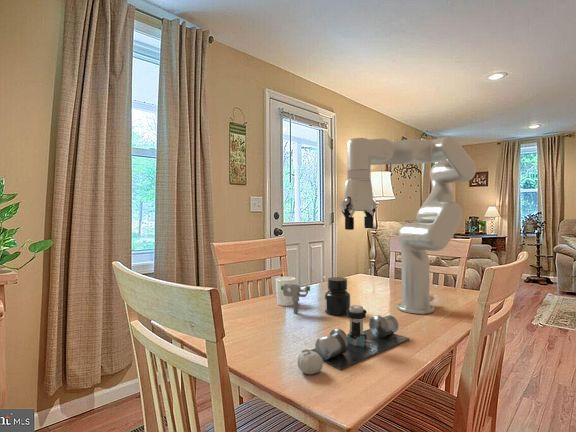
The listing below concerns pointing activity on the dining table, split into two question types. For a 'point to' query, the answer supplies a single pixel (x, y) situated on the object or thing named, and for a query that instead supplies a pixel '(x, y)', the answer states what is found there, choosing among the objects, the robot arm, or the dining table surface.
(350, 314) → the push button
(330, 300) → the ink bottle
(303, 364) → the garlic
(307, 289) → the mechanical component
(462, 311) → the dining table surface
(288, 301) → the white cup
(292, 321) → the dining table surface
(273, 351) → the dining table surface
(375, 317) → the plate with silver knobs
